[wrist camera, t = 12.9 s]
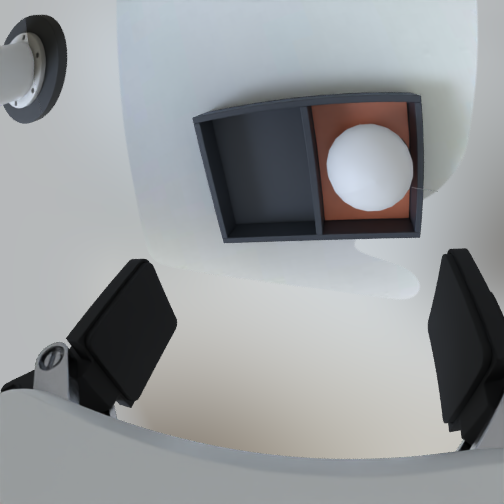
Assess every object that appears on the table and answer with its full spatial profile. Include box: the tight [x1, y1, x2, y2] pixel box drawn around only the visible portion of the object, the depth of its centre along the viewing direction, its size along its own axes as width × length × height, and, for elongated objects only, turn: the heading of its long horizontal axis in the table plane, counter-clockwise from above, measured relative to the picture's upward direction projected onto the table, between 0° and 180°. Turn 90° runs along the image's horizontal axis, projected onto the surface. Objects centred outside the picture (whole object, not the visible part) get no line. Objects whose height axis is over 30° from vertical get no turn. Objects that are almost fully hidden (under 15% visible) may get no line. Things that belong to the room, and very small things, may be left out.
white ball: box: [326, 124, 437, 211], centre depth 23 cm, size 10×7×7 cm
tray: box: [193, 92, 424, 243], centre depth 27 cm, size 20×13×4 cm, turn 101°
